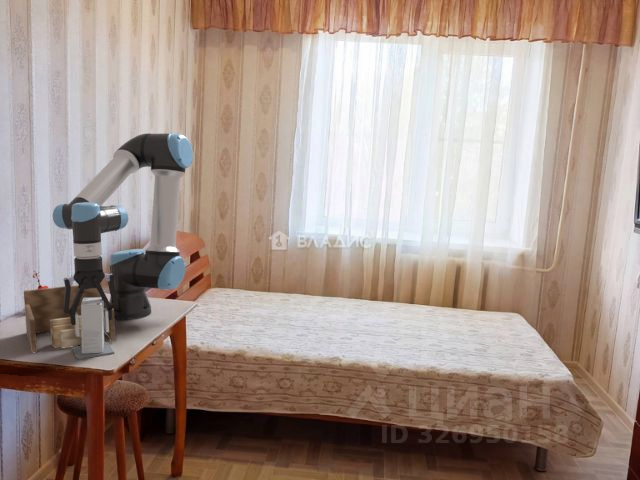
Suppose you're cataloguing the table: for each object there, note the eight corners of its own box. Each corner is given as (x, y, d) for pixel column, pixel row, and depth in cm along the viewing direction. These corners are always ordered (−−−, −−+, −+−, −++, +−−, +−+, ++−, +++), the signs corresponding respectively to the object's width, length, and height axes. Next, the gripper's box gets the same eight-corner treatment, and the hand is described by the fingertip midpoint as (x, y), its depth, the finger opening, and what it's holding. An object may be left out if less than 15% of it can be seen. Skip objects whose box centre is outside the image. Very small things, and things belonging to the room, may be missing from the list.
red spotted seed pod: (49, 313, 210) (47, 272, 208) (30, 313, 210) (27, 272, 208) (58, 307, 218) (56, 268, 216) (39, 307, 218) (36, 268, 215)
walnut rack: (102, 322, 200) (100, 282, 198) (115, 340, 183) (113, 296, 181) (26, 332, 189) (23, 290, 187) (32, 352, 171) (28, 306, 169)
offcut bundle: (93, 338, 184) (91, 314, 183) (95, 343, 180) (94, 317, 179) (51, 345, 178) (49, 319, 177) (53, 349, 174) (51, 323, 173)
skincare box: (84, 345, 176) (81, 297, 174) (105, 344, 178) (103, 296, 176) (81, 354, 168) (79, 304, 166) (104, 352, 170) (102, 303, 168)
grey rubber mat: (107, 343, 180) (107, 341, 180) (114, 353, 171) (114, 351, 171) (72, 348, 175) (72, 347, 175) (77, 359, 166) (77, 357, 166)
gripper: (50, 262, 160) (56, 342, 164) (127, 255, 170) (130, 331, 174) (47, 257, 167) (53, 334, 170) (121, 251, 177) (125, 324, 180)
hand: (92, 332), depth 172 cm, fingers open, 7 cm apart
